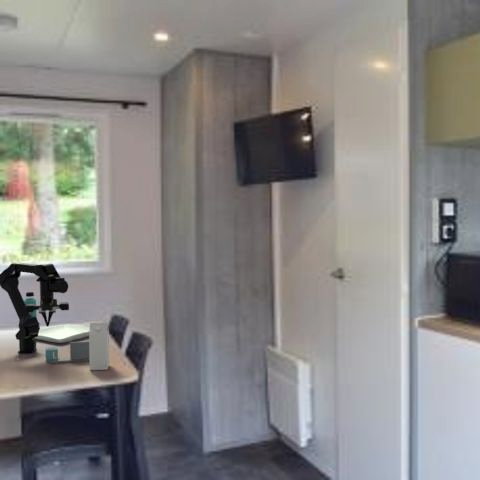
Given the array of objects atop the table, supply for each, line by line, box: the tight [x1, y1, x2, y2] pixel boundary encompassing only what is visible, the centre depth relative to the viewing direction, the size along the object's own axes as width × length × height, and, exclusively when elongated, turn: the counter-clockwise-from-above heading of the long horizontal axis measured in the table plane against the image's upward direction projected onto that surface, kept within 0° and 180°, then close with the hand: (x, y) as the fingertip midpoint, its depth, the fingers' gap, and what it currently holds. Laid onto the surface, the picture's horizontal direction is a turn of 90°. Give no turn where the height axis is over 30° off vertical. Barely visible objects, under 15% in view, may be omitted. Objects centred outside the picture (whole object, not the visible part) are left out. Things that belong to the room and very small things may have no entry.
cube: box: [45, 346, 59, 362], centre depth 261 cm, size 5×5×5 cm
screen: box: [69, 340, 89, 359], centre depth 260 cm, size 12×1×7 cm, turn 107°
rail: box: [48, 357, 90, 365], centre depth 259 cm, size 21×4×1 cm, turn 107°
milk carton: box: [88, 321, 110, 371], centre depth 248 cm, size 7×7×19 cm
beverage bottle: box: [23, 291, 38, 318], centre depth 325 cm, size 6×7×20 cm
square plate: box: [35, 323, 90, 344], centre depth 305 cm, size 27×27×4 cm
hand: (47, 326), depth 269 cm, fingers closed
